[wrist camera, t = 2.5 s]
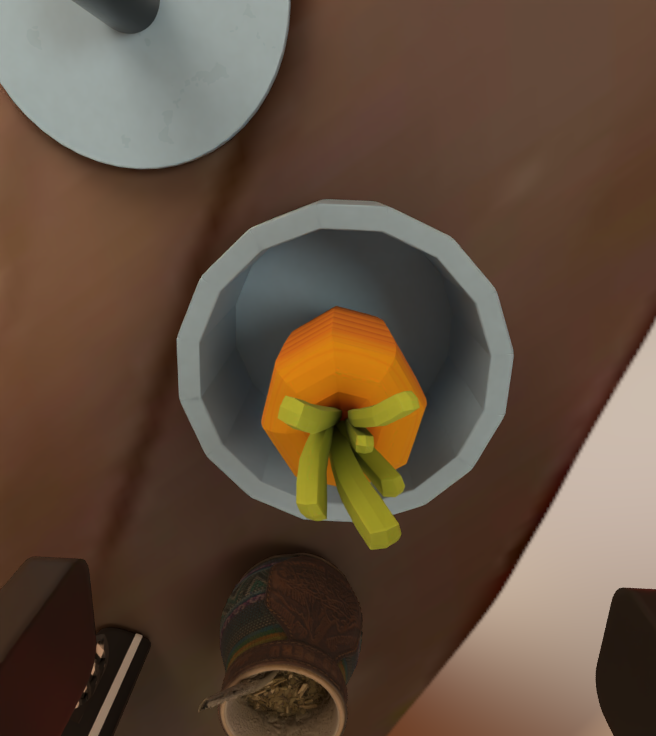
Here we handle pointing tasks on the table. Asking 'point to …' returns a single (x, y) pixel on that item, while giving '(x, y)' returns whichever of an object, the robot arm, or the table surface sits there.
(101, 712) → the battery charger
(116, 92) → the lid
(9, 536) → the table surface
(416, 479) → the pot
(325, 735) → the mate gourd
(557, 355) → the table surface
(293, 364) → the carrot
